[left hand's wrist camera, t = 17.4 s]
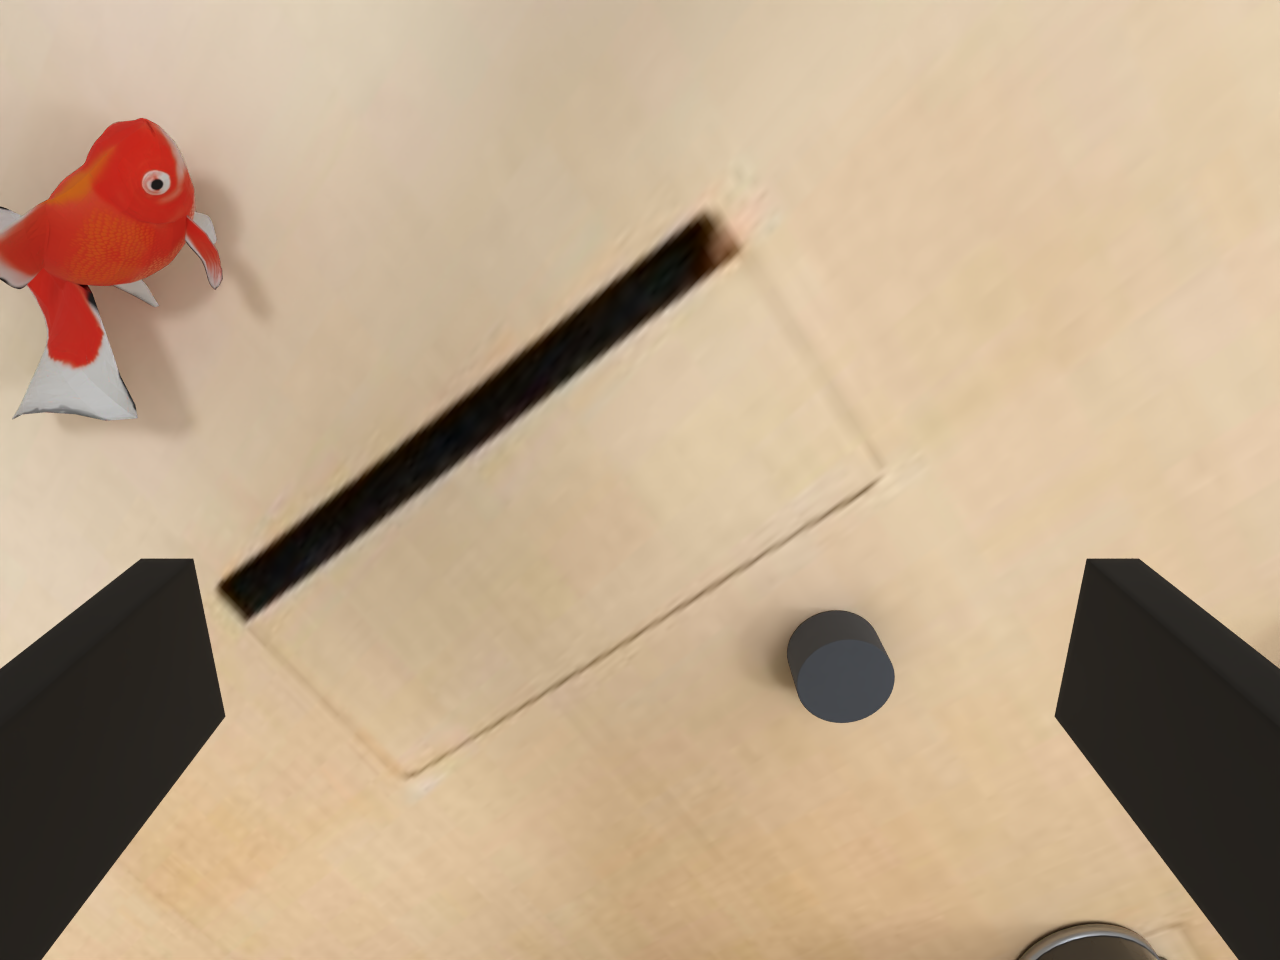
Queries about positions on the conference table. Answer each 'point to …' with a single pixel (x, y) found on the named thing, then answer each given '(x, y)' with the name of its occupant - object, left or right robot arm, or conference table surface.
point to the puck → (840, 667)
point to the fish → (101, 260)
